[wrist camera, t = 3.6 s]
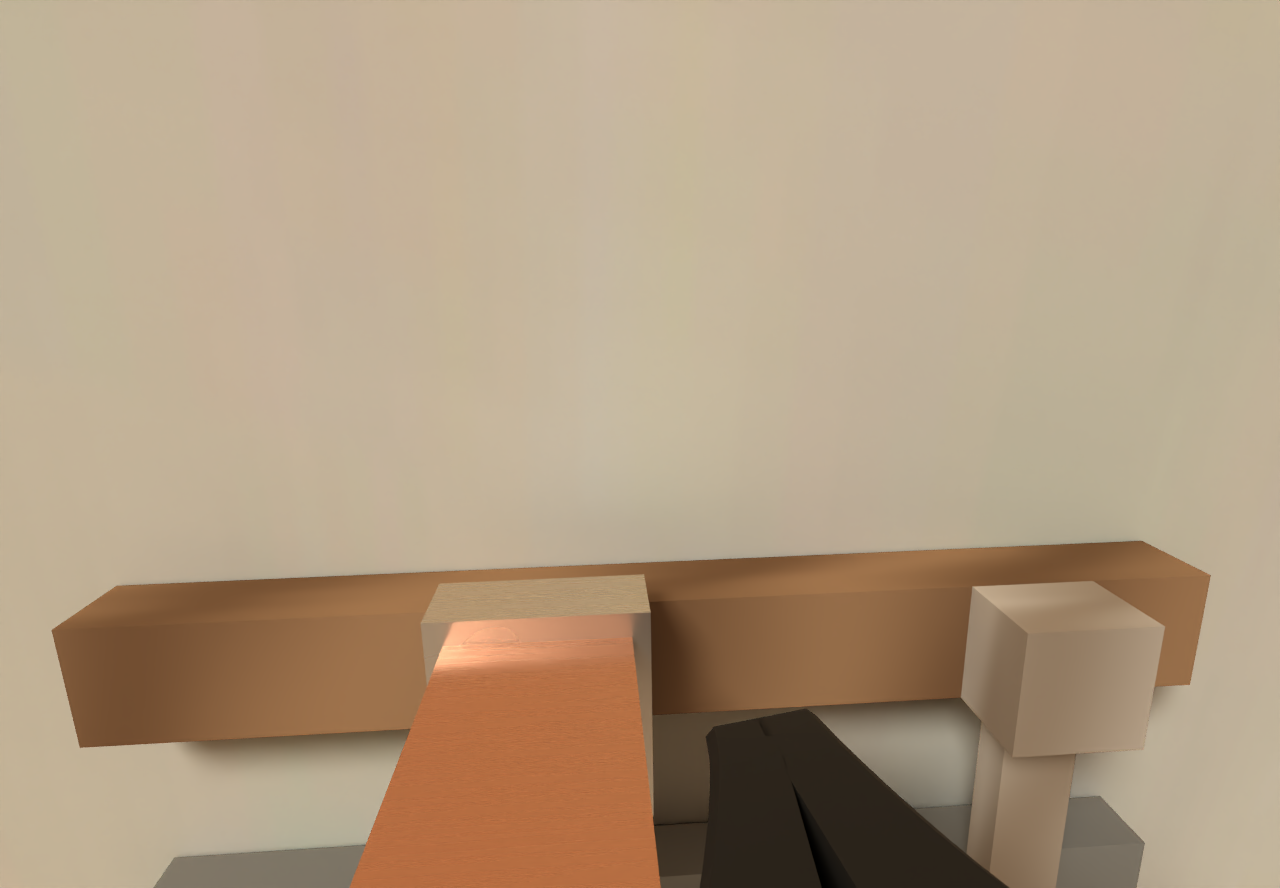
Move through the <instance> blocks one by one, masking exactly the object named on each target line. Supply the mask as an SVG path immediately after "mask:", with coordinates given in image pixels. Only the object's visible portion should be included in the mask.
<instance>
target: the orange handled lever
mask: <svg viewBox="0 0 1280 888" xmlns="http://www.w3.org/2000/svg"><path fill="white" fill-rule="evenodd" d="M421 633H422V642H423V652H424V662H425V672H426V682H427V688H426V690H425V693H424V696H423V698H422V701H421V703H420V706H419V709H418V711H417V714H416V716H415V719H414V721H413V724H412V727H411V729H410V732H409V734H408V737H407V740H406V742H405V745H404V747H403V750H402V753H401V755H400V758H399V760H398V763H397V766H396V768H395V771H394V773H393V776H392V778H391V781H390V784H389V786H388V789H387V791H386V794H385V797H384V799H383V802H382V804H381V807H380V810H379V812H378V815H377V817H376V820H375V823H374V825H373V828H372V830H371V833H370V836H369V838H368V841H367V843H366V846H365V848H364V851H363V854H362V856H361V859H360V861H359V864H358V867H357V869H356V872H355V874H354V877H353V880H352V882H351V885H350V887H349V888H661V886H660V877H659V868H658V859H657V850H656V841H655V833H654V824H653V816H654V801H653V736H652V671H651V612H650V606H649V600H648V595H647V589H646V583H645V577H644V574H643V575H620V576H598V577H576V578H553V579H531V580H509V581H486V582H464V583H442V584H439V585H438V587H437V590H436V592H435V594H434V596H433V598H432V600H431V602H430V604H429V607H428V609H427V611H426V613H425V615H424V617H423V619H422V621H421Z"/></svg>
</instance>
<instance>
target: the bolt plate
mask: <svg viewBox="0 0 1280 888" xmlns="http://www.w3.org/2000/svg"><path fill="white" fill-rule="evenodd" d="M971 809H972V805H962V806H947V807H932V808H917V809H915V810H916V811H917V812H918V813H919V814H920V815H921V816H923V817H924V818H925V819H926V820H927V821H928V822H930V823H931V824H932V825H933V826H934V827H935V828H937V829H938V830H939V831H940V832H941V833H942V834H943V835H945V836H946V837H947V838H948V839H949V840H951V841H952V842H953V843H954V844H955V845H957V846H958V847H959V848H960V849H961V850H963V851H964V852H965V853H967V845H968V836H969V827H970V818H971ZM707 826H708V822H706V823H691V824H676V825H661V826H654V833H655V841H656V850H657V859H658V868H659V877H660V886H661V888H700V882H701V876H702V869H703V860H704V851H705V843H706V834H707ZM1144 844H1145V843H1144V842H1143V840H1142V839H1141V838H1140V837H1139V836H1138V835H1137V834H1136V833H1135V832H1134V831H1133V830H1132V829H1131V828H1130V827H1129V826H1128V825H1127V824H1126V823H1125V822H1124V821H1123V820H1122V819H1121V818H1120V816H1119V815H1118V814H1117V813H1116V812H1115V811H1114V810H1113V809H1112V808H1111V807H1110V806H1109V805H1108V804H1107V803H1106V802H1105V801H1104V800H1103V799H1102V798H1101V797H1100V796H1098V797H1083V798H1069V802H1068V809H1067V816H1066V822H1065V829H1064V835H1063V842H1062V849H1061V855H1060V862H1059V868H1058V875H1057V882H1056V888H1136V887H1137V882H1138V876H1139V871H1140V866H1141V860H1142V855H1143V849H1144ZM365 846H366V845H359V846H344V847H329V848H314V849H299V850H284V851H269V852H254V853H239V854H224V855H209V856H194V857H179V858H174V859H173V861H172V862H171V864H170V865H169V866H168V868H167V869H166V871H165V872H164V874H163V875H162V876H161V878H160V879H159V881H158V882H157V884H156V885H155V886H154V888H349V887H350V885H351V882H352V880H353V877H354V874H355V872H356V869H357V867H358V864H359V861H360V859H361V856H362V854H363V851H364V848H365Z"/></svg>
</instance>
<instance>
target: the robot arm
mask: <svg viewBox="0 0 1280 888" xmlns="http://www.w3.org/2000/svg"><path fill="white" fill-rule="evenodd" d="M706 740H707V746H708V752H709V759H710V800H709V817H708V826H707V834H706V843H705V851H704V860H703V869H702V876H701V882H700V888H1009V887H1008V886H1007V885H1005V884H1004V883H1003V882H1002V881H1000V880H999V879H998V878H996V877H995V876H994V875H993V874H991V873H990V872H989V871H988V870H986V869H985V868H984V867H982V866H981V865H980V864H979V863H977V862H976V861H975V860H974V859H972V858H971V857H970V856H969V855H968V854H966V853H965V852H964V851H963V850H961V849H960V848H959V847H958V846H957V845H955V844H954V843H953V842H952V841H951V840H949V839H948V838H947V837H946V836H945V835H943V834H942V833H941V832H940V831H939V830H938V829H937V828H935V827H934V826H933V825H932V824H931V823H930V822H928V821H927V820H926V819H925V818H924V817H923V816H921V815H920V814H919V813H918V812H917V811H916V810H915V809H913V808H912V807H911V806H910V805H909V804H908V803H906V802H905V801H904V800H903V799H902V798H901V797H900V796H899V795H897V794H896V793H895V792H894V791H893V790H892V789H891V788H890V787H889V786H888V785H886V784H885V783H884V782H883V781H882V780H881V779H880V778H879V777H878V776H877V775H876V774H875V773H874V772H873V771H871V770H870V769H869V768H868V767H867V766H866V765H865V764H864V763H863V762H862V761H861V760H860V759H859V758H858V757H857V756H856V755H855V754H854V753H853V752H852V751H851V750H850V749H848V748H847V747H846V746H845V745H844V744H843V743H842V742H841V741H840V740H839V739H838V738H837V737H836V736H835V735H834V734H833V732H832V731H831V730H830V729H829V728H828V727H827V726H826V725H825V724H824V723H823V722H822V721H821V720H820V719H819V718H818V717H817V716H816V715H815V714H813V713H812V712H810V711H809V710H808V709H802V710H797V711H792V712H787V713H782V714H777V715H772V716H767V717H761V718H756V719H751V720H746V721H741V722H736V723H731V724H726V725H720V726H715V727H713V729H712V730H711V731H710V732H709V734H708V735H707V736H706Z"/></svg>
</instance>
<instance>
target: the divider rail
mask: <svg viewBox="0 0 1280 888" xmlns="http://www.w3.org/2000/svg"><path fill="white" fill-rule="evenodd" d="M643 574H644V577H645V583H646V589H647V595H648V600H649V606H650V612H651V671H652V715H662V714H680V713H697V712H715V711H733V710H750V709H768V708H785V707H803V706H820V705H838V704H856V703H873V702H891V701H908V700H926V699H944V698H962V699H963V701H964V702H965V703H966V704H967V705H968V706H969V708H970V709H971V710H972V711H973V712H974V713H975V715H976V716H977V717H978V718H979V719H980V720H981V729H980V738H979V747H978V756H977V765H976V774H975V782H974V791H973V800H972V809H971V818H970V827H969V836H968V845H967V853H966V854H968V855H969V856H970V857H971V858H972V859H974V860H975V861H976V862H977V863H979V864H980V865H981V866H982V867H984V868H985V869H986V870H988V871H989V872H990V873H991V874H993V875H994V876H995V877H996V878H998V879H999V880H1000V881H1002V882H1003V883H1004V884H1005V885H1007V886H1008V887H1009V888H1056V882H1057V875H1058V868H1059V862H1060V855H1061V849H1062V842H1063V835H1064V829H1065V822H1066V816H1067V809H1068V802H1069V796H1070V789H1071V783H1072V776H1073V769H1074V763H1075V756H1076V754H1079V753H1095V752H1111V751H1127V750H1143V748H1144V742H1145V737H1146V731H1147V726H1148V720H1149V714H1150V709H1151V703H1152V697H1153V692H1154V687H1155V686H1172V685H1190V681H1191V676H1192V670H1193V665H1194V660H1195V655H1196V650H1197V644H1198V639H1199V634H1200V629H1201V623H1202V618H1203V613H1204V608H1205V602H1206V597H1207V592H1208V587H1209V582H1210V576H1211V575H1209V574H1207V573H1205V572H1203V571H1201V570H1199V569H1197V568H1195V567H1193V566H1191V565H1189V564H1187V563H1185V562H1183V561H1181V560H1179V559H1177V558H1175V557H1173V556H1171V555H1169V554H1167V553H1165V552H1163V551H1161V550H1159V549H1157V548H1155V547H1153V546H1151V545H1149V544H1147V543H1145V542H1143V541H1130V542H1107V543H1084V544H1061V545H1039V546H1016V547H993V548H970V549H947V550H924V551H902V552H879V553H856V554H833V555H810V556H787V557H765V558H742V559H719V560H696V561H673V562H651V563H628V564H605V565H582V566H559V567H536V568H514V569H491V570H468V571H445V572H422V573H399V574H377V575H354V576H331V577H308V578H285V579H263V580H240V581H217V582H194V583H171V584H148V585H126V586H116V587H114V588H113V589H111V590H110V591H108V592H107V593H105V594H104V595H103V596H101V597H100V598H98V599H97V600H95V601H94V602H92V603H91V604H89V605H88V606H86V607H85V608H83V609H82V610H80V611H79V612H78V613H76V614H75V615H73V616H72V617H70V618H69V619H67V620H66V621H64V622H63V623H61V624H60V625H58V626H57V627H55V628H54V629H53V630H52V634H53V638H54V642H55V646H56V650H57V654H58V658H59V663H60V667H61V671H62V675H63V679H64V683H65V688H66V692H67V696H68V700H69V704H70V708H71V712H72V717H73V721H74V725H75V729H76V733H77V737H78V742H79V746H80V748H82V747H100V746H117V745H135V744H152V743H170V742H188V741H205V740H223V739H240V738H258V737H275V736H293V735H311V734H328V733H346V732H363V731H381V730H399V729H411V727H412V724H413V721H414V719H415V716H416V714H417V711H418V709H419V706H420V703H421V701H422V698H423V696H424V693H425V690H426V688H427V682H426V672H425V662H424V652H423V642H422V633H421V621H422V619H423V617H424V615H425V613H426V611H427V609H428V607H429V604H430V602H431V600H432V598H433V596H434V594H435V592H436V590H437V587H438V585H439V584H442V583H464V582H486V581H509V580H531V579H553V578H576V577H598V576H620V575H643Z"/></svg>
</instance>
